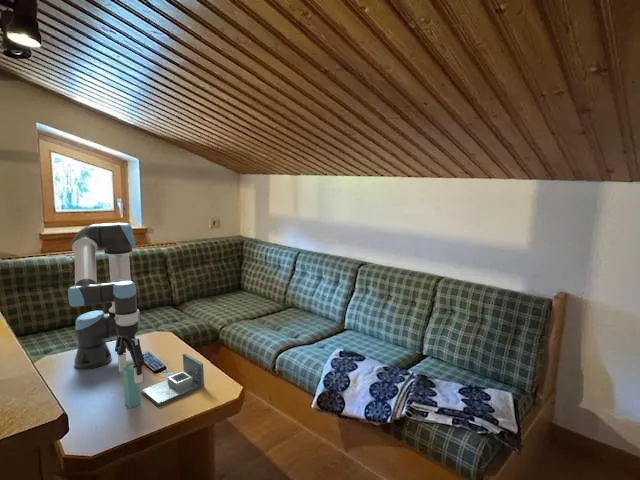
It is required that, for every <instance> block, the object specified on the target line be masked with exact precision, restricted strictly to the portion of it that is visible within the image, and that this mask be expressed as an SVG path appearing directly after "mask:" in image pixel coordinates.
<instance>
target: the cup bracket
mask: <svg viewBox="0 0 640 480" xmlns="http://www.w3.org/2000/svg"><path fill="white" fill-rule="evenodd" d="M182 362H183V363H182V365H183V371H181V372H178V373H175V374H174V375H171V376H167V379H166V380H163V381H161V382H159V383H155V384H153V385H150V386H148V387H146V388H143V389H141V394H142V395H144V396H145V397H146V398H147V399H149V400H150V401H151V402H152V403H154V404H155V406H157V407H162V406H165V405H166V404H169V403H171V402H173V401H175V400H176V401H177V399H180V398H182V397H184V396H187V395H189V394H191V393H194V392H196V391H198V390H200V389H203V388H205V376H204V363H203V362H201V361H199V360H197V359H196V358H194V357H193V356H190V355H189V354H187V353H183V354H182Z"/></svg>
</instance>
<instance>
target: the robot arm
mask: <svg viewBox="0 0 640 480" xmlns="http://www.w3.org/2000/svg"><path fill="white" fill-rule="evenodd" d="M136 247H137V246H136V241H135V236H134V231H133V228H132V225H131V224H130V223H127V222H110V223H109V222H108V223H92V224H89V225H87V226H85V227H84V228H81V229H80V230H79V231H78V232H77V233H76V234H75V236H74V238H73V239H72V242H71V249H72V252H73V254H74V285H73V286H70V287H68V289H67V293H68V294H67V295H68V296H67V297H68V304H69V306H70V307H85V306H93V305H98V304H108V303H111V305H112V306H111V307H110V308H108V313H105V312H104V311H103V310H93V311H88V312H86V313H82V314H80V315H79V316H78V317H77V318H76V319H75V328H74V329H75V332H76V345H77V350H76V353H75V358H74V359H73V360H74V367H75V368H77V369H80V370H89V369H97V368H99V367H102V366H105V365H106V364H108V363H109V362H111V361H112V352H111V350H110V349H109V346H108V344H107V340H108V339H115V338H116V341H115V348H114V352H115V353H116V354H117V360H118V371H119V373H121V372H123V368H124V367H127V366H128V365H127V364H128V363H127V354H126V353H127V351H128V352H129V353H130V356H131V360H132V362H133V365H134V367H133V368H134V379H135V384H137V383H139V384H140V383H142V382H144V378H143V377H144V376H143V366H145V365H146V362H145V359H144V354H143V351H142V348H141V343H140V338H136V336H135V335H136V334H138V332H139V329H140V321H141V318H140V316H141V313H140V309H139V308H138V305H137V304H138V301H137V287H136V283H135V282H134V281H132V280H131V279H132V278H131V262H130V255H131V254H132V253H133V249H134V248H136ZM98 250H99V251H102V250H104V251H103V252H104V254H105V255H106V256H108V266H109V267H108V268H109V279H110V280H109V281H110V282H105V283H98V277H97V276H98V275H97V261H96V260H97V259H96V253H97V251H98Z"/></svg>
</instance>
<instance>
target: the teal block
mask: <svg viewBox="0 0 640 480" xmlns="http://www.w3.org/2000/svg"><path fill="white" fill-rule="evenodd" d="M134 366H135V365H134V364H131V365H127V367H124V368H123V371H122V378H123V380H122V381H123V392H124V395H123V396H124V405H125V406H126V405H127V406H126V407H128V408H129V409H131V408H134V407H136V406H139V405H141V399H140V398H141V395H140V394H141V393H140V382H139V383H137V384H135V379H134V368H133V367H134Z"/></svg>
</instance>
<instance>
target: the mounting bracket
mask: <svg viewBox="0 0 640 480" xmlns="http://www.w3.org/2000/svg"><path fill="white" fill-rule="evenodd" d="M175 374H176V372H175V371H170V369H164V370H163V371H162V373H160V377H161V378H165V377H167V378H168V377H170V376H172V375H175Z"/></svg>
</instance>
